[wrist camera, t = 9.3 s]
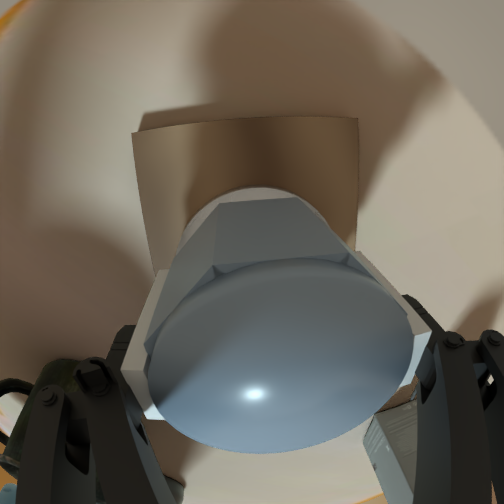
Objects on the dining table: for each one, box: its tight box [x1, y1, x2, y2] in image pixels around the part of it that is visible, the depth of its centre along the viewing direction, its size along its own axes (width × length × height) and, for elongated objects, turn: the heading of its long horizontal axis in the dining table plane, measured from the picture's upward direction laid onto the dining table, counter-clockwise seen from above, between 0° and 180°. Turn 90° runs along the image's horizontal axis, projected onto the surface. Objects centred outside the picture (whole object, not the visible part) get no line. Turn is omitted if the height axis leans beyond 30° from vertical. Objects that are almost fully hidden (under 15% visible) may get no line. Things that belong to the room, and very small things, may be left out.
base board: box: [131, 116, 359, 276], centre depth 17 cm, size 12×16×1 cm
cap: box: [143, 197, 413, 454], centre depth 11 cm, size 8×8×7 cm
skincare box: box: [363, 400, 417, 504], centre depth 21 cm, size 8×7×16 cm
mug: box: [0, 359, 106, 504], centre depth 16 cm, size 11×15×12 cm
